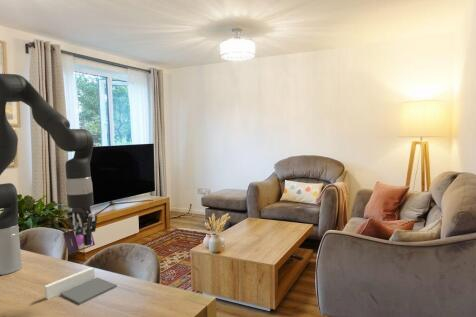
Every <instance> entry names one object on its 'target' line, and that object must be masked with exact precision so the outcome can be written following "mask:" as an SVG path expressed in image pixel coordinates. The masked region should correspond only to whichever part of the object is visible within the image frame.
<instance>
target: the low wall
mask: <svg viewBox="0 0 476 317" xmlns="http://www.w3.org/2000/svg"><path fill="white" fill-rule="evenodd" d="M95 275H96V274H95V268H94V267H92V266H91V267H89V268H86V269H84V270H81V271H79V272H75V273H74V274H71V275H69V276H66V277H64V278H61V279H57V280H56V281H54V282H50V283H48V284H46V285H44V295H45V299H47V300H50V299H52V298H55V297H57V296H59V295H60V293H62V292H64V291H67V290H69V289H71V288H74V287H76V286H78V285H81V284H83V283H86V282H88V281H90V280H93V279H95V278H96V277H95Z"/></svg>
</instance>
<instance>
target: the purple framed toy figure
mask: <svg viewBox="0 0 476 317" xmlns="http://www.w3.org/2000/svg"><path fill="white" fill-rule="evenodd" d="M86 228H87V226H86ZM76 230H77V232H78V233H81V231H82V232H83V230H82V228H78V229H75V230H74V229H73V230H72V229H71V230H69V231H66V232H64V233H62V235H63V238H64V242H65V245H66V248H67V253H68V255H72V254H74V253H78V252H80V251H83V250H85V249H88V248H91V247H93V246H95V245H96V243H95V240H94V237H93V232H92V233H91V240H92V244H91V245H88V246H85V247H82V248H79V247H80V246H82V245H84V239H83V235H84V234H79V235H77V236H76V233H75V232H74V231H76Z"/></svg>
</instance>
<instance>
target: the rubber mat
mask: <svg viewBox="0 0 476 317" xmlns="http://www.w3.org/2000/svg"><path fill="white" fill-rule="evenodd" d="M117 285H118V284H115V283H112V282H110V281H107V280H105V279H102V278H99V277H95V279H93V280H90V281H88V282H86V283H83V284H81V285H78V286H76V287H74V288H71V289H69V290H67V291H64V292H62V293H60V294H59V295H60V296H62V297H63V298H66V299H67V300H70V301H72V302H74V303H76V304H77V305H81V304H83V303H86V302H88V301H89V300H90V301H91V300H93V299H94V298H96V297H98V296H101V295H102V294H105V293H107V292H109V291H111V290H113V289H115V288H117Z"/></svg>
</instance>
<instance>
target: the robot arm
mask: <svg viewBox="0 0 476 317" xmlns="http://www.w3.org/2000/svg"><path fill="white" fill-rule="evenodd" d="M20 102H21V103H24V104H25V105H27V106H28V107H30V109H31V115H32V118H33V120H34V122H36V124H37V125H38V126H39V127H40V128H41V129H43V130H44V131H45V132H47V133H48V134H49V135H50V138H52V140H53V142H54V143H55V144H56V146H57V147H58V148H59V149H61V150H63V151H64V152H69V153H71V152H74V154H73V157H72V158H70V159H68V160H66V161H65V166H64V167H65V176H66V177H65V178H66V181H65V183H66V184H65V187H66V188H65V189H66V201H67V207H68V208H69V209H71V210H70V211H67V212H66V215H67V220H68V223H69V227H70V229H71V231H72V230H75V229H78V228H82V230H83V232H82V231H81V233H78V232H77V230H76V231H74V233H75V237H76V236H77V235H79V234H84V235H83V239H84V243H83V245H84V246H85V247H87V246H90V245H91V244H92V245H93V243H92V240H91V233H92V234H93V233H94V232H96V229H97V222H98V214H93V213H92V209H91V207H92V206H93V205H94V203H95V202H94V190H93V189H94V188H93V181H92V176H91V160H92V155H93V149H94V138H93V135H92V132H90V131H89V130H88V129H84V128H71V124H70V123H71V122H70V121H69V119H67V118H66V117H65V116H64V115H63V114H61V113H60V112H59V111H57V109H55V108H54V107H52V106H51V104H49V103H48V101H46V100H45V99H44V97H43V96H42V95H41V94H40V93H39V91H38V90H36V88H35V87H34V86H33V84H32V83H31V82H29V80H28V79H26V78H25V77H24V76H22V75H20V74H14V73H13V74H12V73H0V176H1V175H2V174H3V173H4V172H5V170H6V169H7V168H8V167H9V166H10V165H11V164H12V162H13V161H14V160H15V158H16V157H17V152H18V144H19V138H18V135H17V133H16V131H15V130H14V128H13V127H12V125H11V124H10V121H9V120H8V118H7V113H6V106H7V103H20ZM18 197H19V196H18V190H17V187H16V185H14V183H11V182H9V183H8V182H7V183H0V210H3V211H1V212H0V276H3V275H4V276H5V275H9V274H11V273H12V274H13V273H15V272H17V271H20V269H22V266H23V265H22V253H21V252H22V251H21V241H20V240H21V239H20V230H19V208H18V206H19V204H18V202H19V201H18V199H19V198H18ZM86 226H87V228H86Z"/></svg>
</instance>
